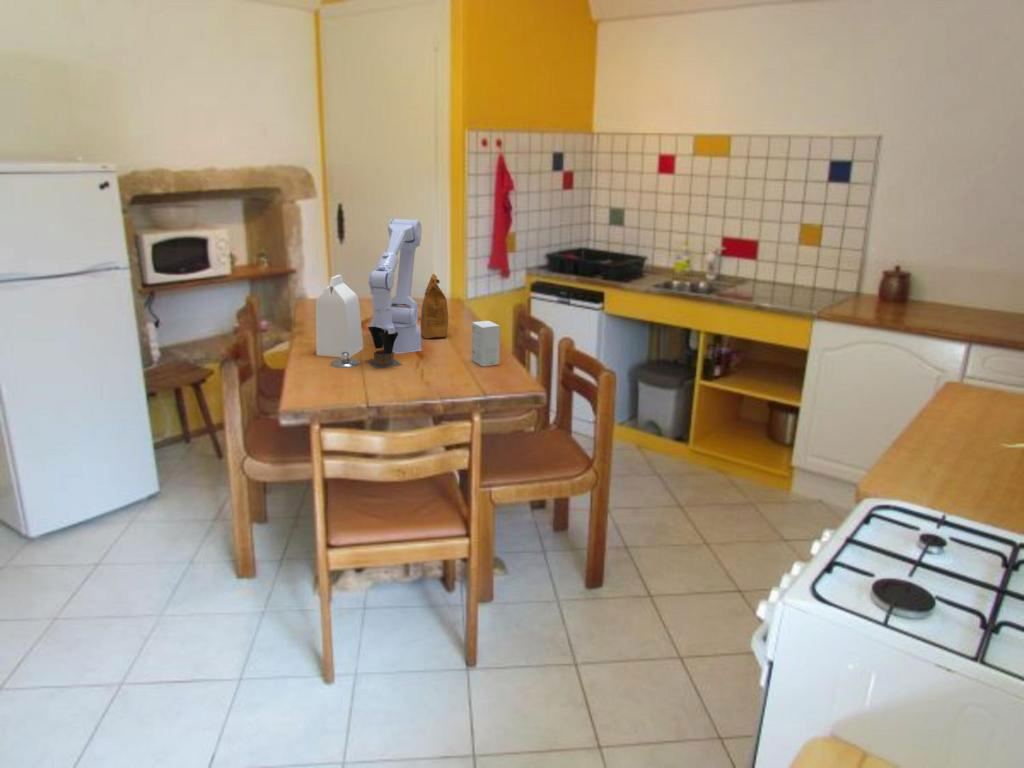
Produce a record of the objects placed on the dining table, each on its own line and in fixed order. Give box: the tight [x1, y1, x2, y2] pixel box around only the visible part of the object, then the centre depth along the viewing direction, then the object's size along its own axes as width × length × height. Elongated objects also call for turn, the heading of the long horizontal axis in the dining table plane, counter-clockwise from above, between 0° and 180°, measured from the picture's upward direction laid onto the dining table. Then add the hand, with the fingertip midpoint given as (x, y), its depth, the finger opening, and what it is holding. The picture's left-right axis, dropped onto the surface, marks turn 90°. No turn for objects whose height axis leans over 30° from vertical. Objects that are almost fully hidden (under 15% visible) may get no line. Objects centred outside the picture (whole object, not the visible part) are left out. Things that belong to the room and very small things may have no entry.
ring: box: [373, 349, 395, 366], centre depth 239 cm, size 6×6×4 cm
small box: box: [471, 320, 501, 367], centre depth 242 cm, size 8×6×13 cm
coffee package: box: [420, 273, 449, 339], centre depth 273 cm, size 10×12×22 cm
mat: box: [365, 359, 403, 370], centre depth 239 cm, size 9×9×1 cm
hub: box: [330, 352, 361, 369], centre depth 237 cm, size 9×9×4 cm
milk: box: [315, 274, 364, 359], centre depth 247 cm, size 12×12×26 cm
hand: (383, 351), depth 238 cm, fingers open, 7 cm apart
